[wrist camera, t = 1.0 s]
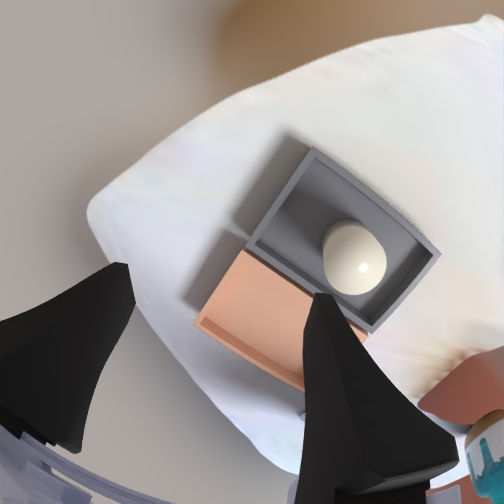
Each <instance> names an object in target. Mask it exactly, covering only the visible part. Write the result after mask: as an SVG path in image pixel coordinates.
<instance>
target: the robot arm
mask: <svg viewBox="0 0 504 504" xmlns="http://www.w3.org/2000/svg"><path fill="white" fill-rule="evenodd" d="M135 304H136V301H135V297H134V292H133V288H132V283H131V278H130V273H129V268H128V264H125V263H119V262H114V263H112V264H110V265H108V266H106V267H104V268H103V269H101V270H99V271H97V272H96V273H94V274H92V275H91V276H89V277H88V278H86V279H84V280H83V281H81V282H79V283H78V284H76V285H75V286H73V287H71V288H70V289H68V290H66V291H64V292H63V293H61V294H59V295H57V296H56V297H54V298H52V299H50V300H49V301H47V302H45V303H43V304H41V305H39V306H37V307H35V308H33V309H31V310H28V311H26V312H23V313H21V314H18V315H16V316H13V317H11V318H8V319H5V320H2V321H0V504H93V503H91V502H90V501H91V498H92V496H91V494H89V493H88V492H86V491H84V490H83V489H81V488H80V487H78V486H76V485H74V484H72V483H70V482H68V481H66V480H64V479H62V478H60V477H59V476H57V475H55V474H53V473H52V471H51V467H52V468H53V469H55V470H57V471H58V472H60V473H61V474H63V475H65V476H67V477H68V478H70V479H72V480H74V481H76V482H77V483H79V484H81V485H83V486H85V487H87V488H89V489H91V490H93V491H95V492H97V493H99V494H101V495H103V496H105V497H107V498H110V499H112V500H114V501H117V502H119V503H121V504H175V503H171V502H168V501H164V500H161V499H158V498H155V497H151V496H148V495H145V494H143V493H139V492H137V491H134V490H131V489H129V488H126V487H124V486H121V485H119V484H116V483H114V482H112V481H109V480H107V479H105V478H103V477H100V476H98V475H96V474H94V473H92V472H90V471H88V470H86V469H84V468H82V467H80V466H78V465H77V464H75V463H73V462H71V461H69V460H67V459H66V458H64V457H62V456H61V455H59V454H57V453H56V452H54V451H52V450H51V449H49V448H48V447H46V446H45V445H46V442H48V443H49V444H51V445H52V446H55V445H56V444H57V445H59V446H61V447H63V448H64V449H66V450H68V451H70V452H71V453H73V454H77V453H79V452H81V448H82V440H83V434H84V427H85V423H86V418H87V414H88V410H89V406H90V403H91V400H92V397H93V393H94V390H95V388H96V384H97V382H98V379H99V377H100V374H101V372H102V369H103V367H104V365H105V363H106V361H107V360H108V358H109V356H110V354H111V352H112V351H113V349H114V347H115V345H116V343H117V342H118V340H119V338H120V336H121V334H122V333H123V331H124V329H125V327H126V325H127V324H128V321H129V319H130V316H131V314H132V312H133V309H134V307H135ZM302 357H303V372H304V388H305V413H303V414H302V415H301V416H300V419H301V420H303V421H305V429H304V441H303V450H302V459H301V466H300V473H299V475H297V476H296V477H295V479H294V480H293V481H292V482H291V484H290V487H289V491H288V498H287V499H288V500H287V504H461V495H460V486H459V485H456V486H453V487H451V488H449V489H446V490H443V491H440V492H438V493H435V494H432V495H429V496H426V493H425V490H428V489H430V479H433V478H435V477H437V476H439V475H441V474H443V473H445V472H447V471H449V470H450V469H452V468H454V467H455V466H456V465H457V464H458V462H459V456H458V450H457V446H456V441H455V437H454V436H453V435H451V434H450V433H448V432H447V431H446V430H444V429H443V428H441V427H440V426H439V425H437V424H436V423H434V422H433V421H432V420H431V419H429V418H428V417H427V416H426V415H425V414H423V413H422V412H421V411H420V410H419V409H418V408H417V407H415V406H414V405H413V404H412V403H411V402H410V401H409V400H408V399H407V398H406V397H405V396H404V395H403V394H402V393H401V392H400V391H399V390H398V389H397V388H396V387H395V386H394V384H393V383H392V382H391V381H390V380H389V379H388V378H387V376H386V375H385V374H384V373H383V372H382V370H381V369H380V368H379V367H378V366H377V364H376V363H375V362H374V360H373V359H372V358H371V356H370V355H369V353H368V352H367V350H366V349H365V348H364V346H363V345H362V343H361V342H360V340H359V339H358V337H357V335H356V334H355V332H354V331H353V329H352V328H351V326H350V324H349V323H348V321H347V319H346V318H345V316H344V314H343V313H342V311H341V309H340V307H339V306H338V304H337V302H336V301H335V299H334V297H333V296H332V294H326V293H318V292H315V295H314V298H313V301H312V305H311V308H310V311H309V315H308V318H307V321H306V324H305V327H304V330H303V350H302Z"/></svg>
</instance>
